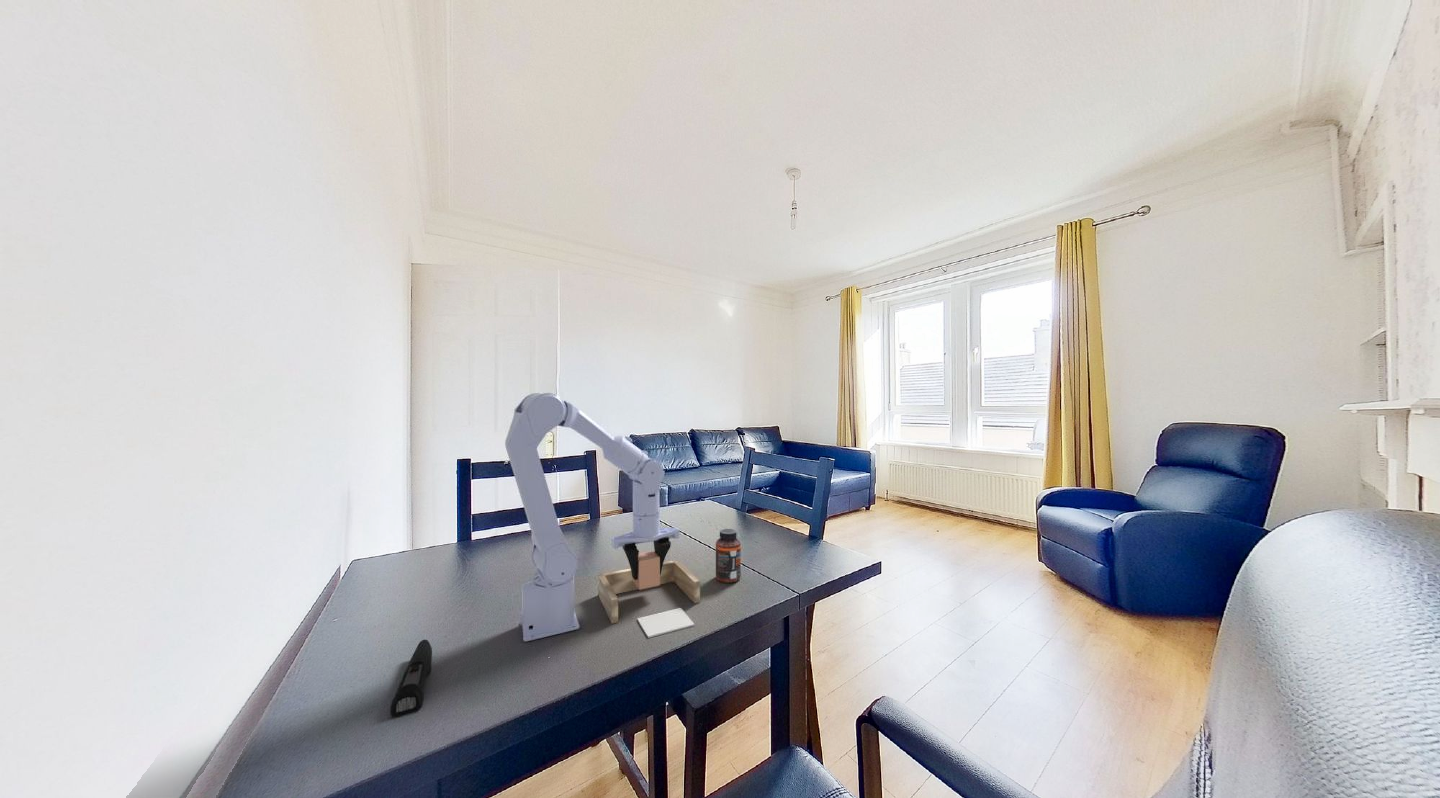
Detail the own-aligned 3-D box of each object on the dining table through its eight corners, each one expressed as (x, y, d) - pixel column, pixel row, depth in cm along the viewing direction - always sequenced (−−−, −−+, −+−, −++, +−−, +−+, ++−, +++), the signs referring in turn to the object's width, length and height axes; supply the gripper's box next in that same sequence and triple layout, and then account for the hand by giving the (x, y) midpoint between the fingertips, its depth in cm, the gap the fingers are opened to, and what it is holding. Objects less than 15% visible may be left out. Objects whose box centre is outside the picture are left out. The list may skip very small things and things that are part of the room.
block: (639, 589, 90) (639, 561, 89) (633, 581, 94) (633, 554, 93) (659, 585, 92) (659, 557, 92) (653, 577, 96) (653, 550, 96)
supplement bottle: (741, 584, 99) (740, 535, 98) (715, 584, 99) (715, 535, 99) (740, 573, 105) (740, 527, 104) (716, 573, 105) (715, 527, 105)
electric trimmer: (438, 653, 73) (437, 635, 73) (422, 712, 59) (421, 689, 59) (411, 660, 71) (411, 641, 71) (388, 721, 58) (388, 698, 58)
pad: (648, 638, 77) (648, 636, 77) (637, 619, 83) (637, 618, 83) (694, 625, 81) (694, 624, 81) (680, 609, 87) (680, 607, 87)
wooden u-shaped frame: (611, 623, 82) (611, 600, 82) (598, 595, 93) (598, 574, 93) (699, 602, 90) (699, 580, 90) (677, 578, 102) (677, 559, 102)
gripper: (671, 504, 99) (671, 563, 99) (608, 512, 93) (608, 575, 93) (682, 511, 93) (683, 574, 93) (615, 521, 86) (616, 588, 86)
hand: (646, 575), depth 93 cm, fingers closed on block, 4 cm apart
